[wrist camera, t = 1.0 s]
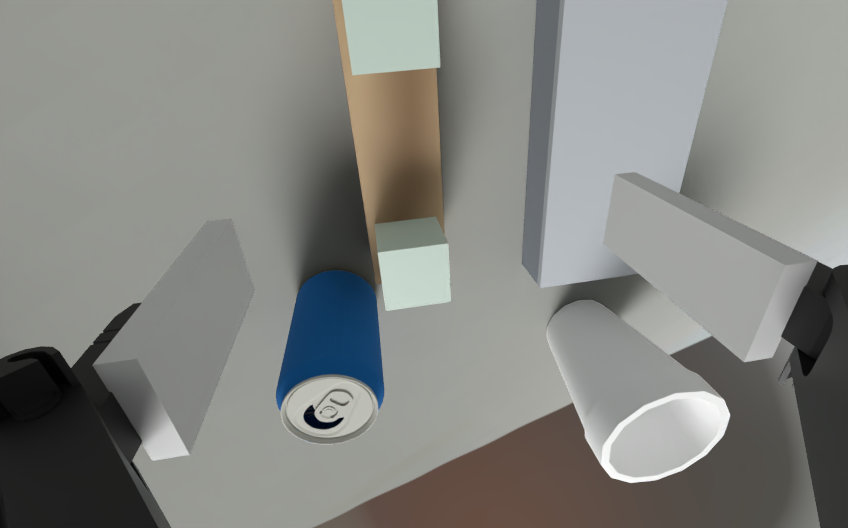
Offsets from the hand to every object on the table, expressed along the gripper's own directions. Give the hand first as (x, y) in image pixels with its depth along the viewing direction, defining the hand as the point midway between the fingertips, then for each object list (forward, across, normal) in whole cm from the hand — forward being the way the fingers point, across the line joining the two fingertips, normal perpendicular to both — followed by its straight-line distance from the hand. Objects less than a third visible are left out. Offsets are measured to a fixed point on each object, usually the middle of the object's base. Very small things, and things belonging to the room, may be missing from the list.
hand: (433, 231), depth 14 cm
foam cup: (+17, +16, -20) cm, 30 cm away
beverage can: (+17, -6, -13) cm, 22 cm away
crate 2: (+12, 0, -6) cm, 13 cm away
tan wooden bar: (+16, 0, 0) cm, 17 cm away
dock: (+16, +15, -1) cm, 22 cm away
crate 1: (+12, 0, +7) cm, 13 cm away
